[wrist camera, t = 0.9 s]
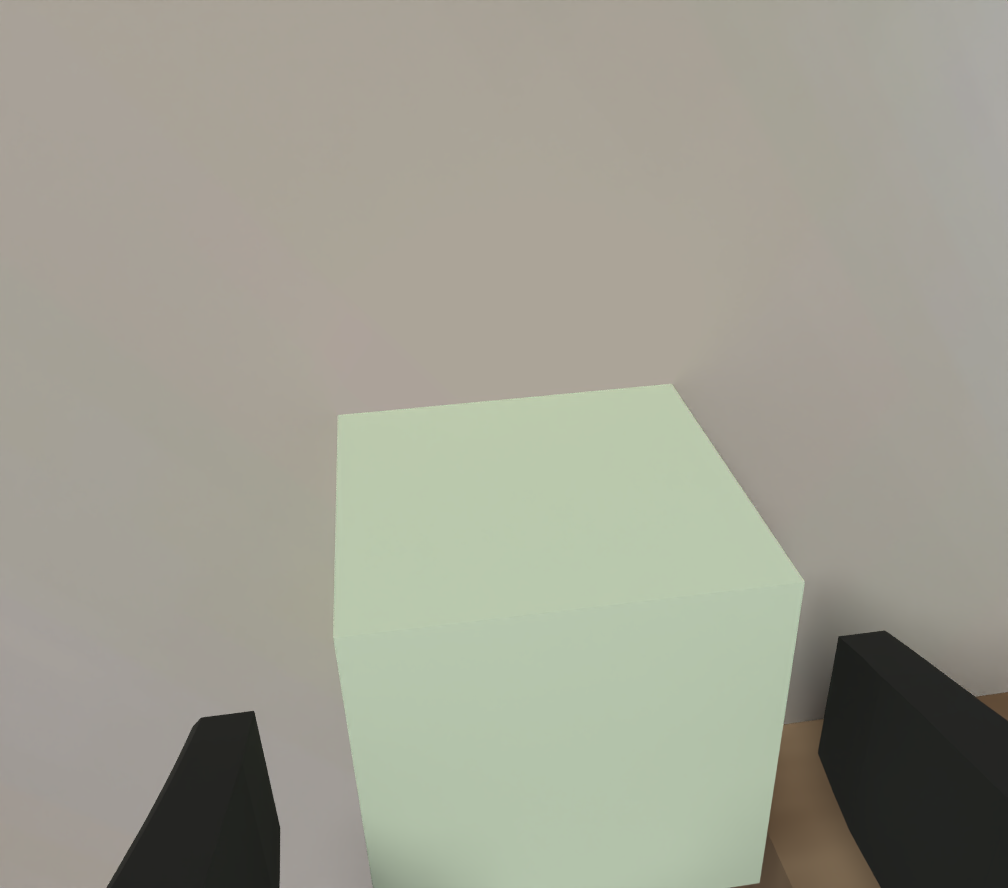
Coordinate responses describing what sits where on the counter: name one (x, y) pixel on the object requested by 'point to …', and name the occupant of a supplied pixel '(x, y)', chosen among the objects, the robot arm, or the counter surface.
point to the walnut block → (815, 818)
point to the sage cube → (558, 645)
